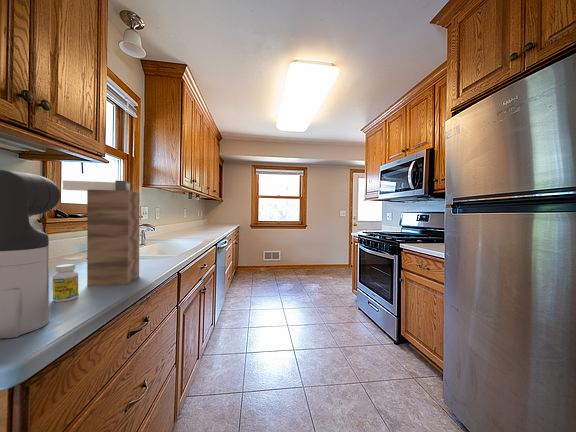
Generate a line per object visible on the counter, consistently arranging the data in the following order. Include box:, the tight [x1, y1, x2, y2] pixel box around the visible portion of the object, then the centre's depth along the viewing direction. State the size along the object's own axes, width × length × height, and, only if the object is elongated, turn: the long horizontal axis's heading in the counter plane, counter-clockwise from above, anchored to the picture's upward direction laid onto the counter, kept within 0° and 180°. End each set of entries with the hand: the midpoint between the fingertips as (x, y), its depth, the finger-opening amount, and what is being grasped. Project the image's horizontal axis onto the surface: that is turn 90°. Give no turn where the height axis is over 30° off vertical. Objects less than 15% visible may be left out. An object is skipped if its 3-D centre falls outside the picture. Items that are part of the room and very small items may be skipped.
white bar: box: [62, 180, 132, 192], centre depth 85 cm, size 4×19×4 cm, turn 102°
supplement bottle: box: [52, 263, 79, 303], centre depth 69 cm, size 5×5×10 cm
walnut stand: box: [86, 190, 141, 287], centre depth 86 cm, size 10×12×32 cm
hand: (36, 202), depth 81 cm, fingers open, 8 cm apart
